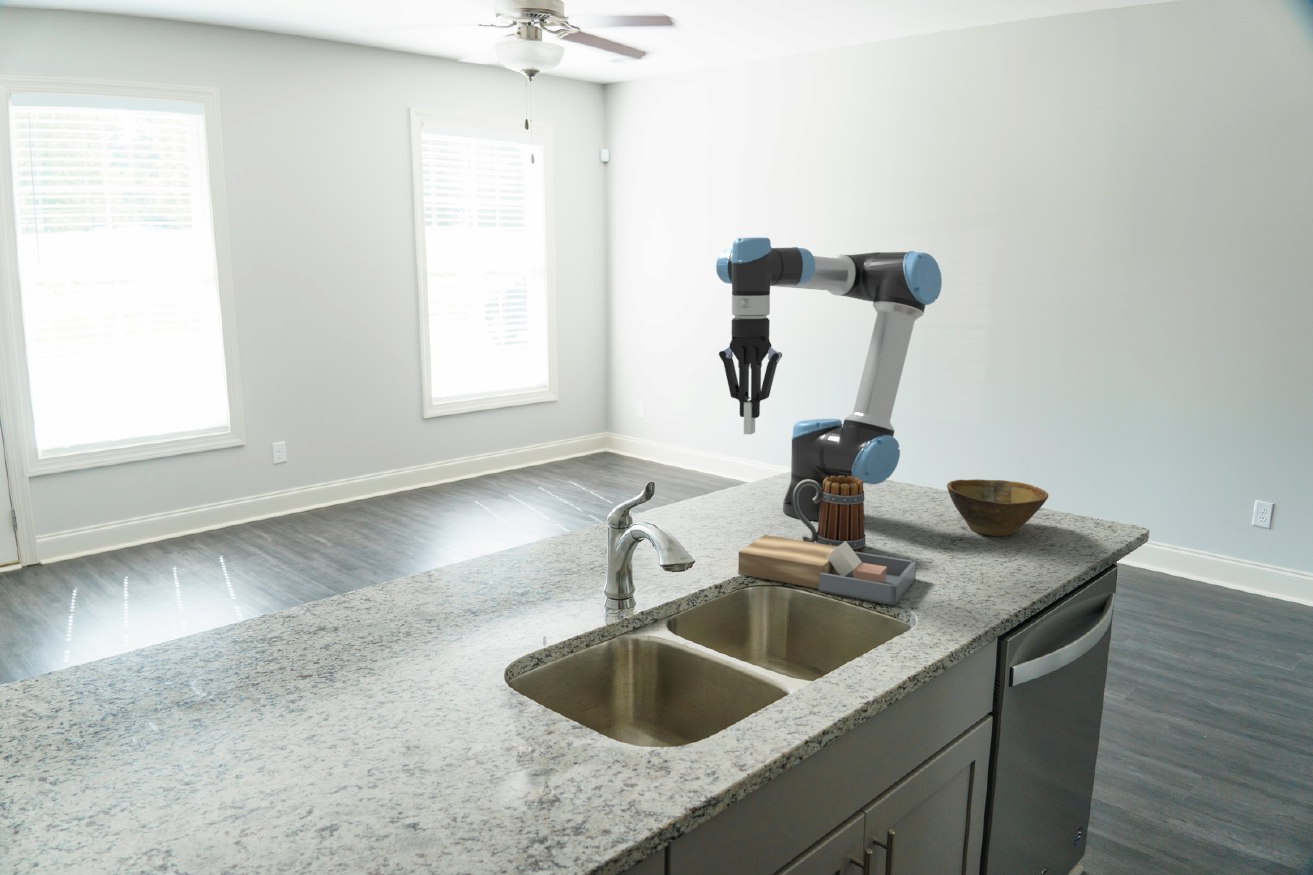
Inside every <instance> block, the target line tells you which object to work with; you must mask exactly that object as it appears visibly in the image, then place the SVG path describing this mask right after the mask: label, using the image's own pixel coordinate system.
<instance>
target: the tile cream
mask: <svg viewBox="0 0 1313 875" xmlns="http://www.w3.org/2000/svg"><path fill="white" fill-rule="evenodd" d="M826 557H827V558H828V560H829V561H830V562H831V564H832V565H833V566H834V568H835V569H836V570H837V572H838V573H839V574H840V576H845V575H847V574H848V573H850V572H851V571H853V570H854V569H855V568H856V567H857V566H858V565H859V564H860V563H861V560H860V559H859V558H858V556H857V555H856V554H855V552H854V551H853V550H852V548H851V547H850V546H849V545H848V543H847V542H846V541H845V542H843V543H842V544H841V545H839V546H838V547H836V548H835V549H834V550H832V551H831V552H830V553H829V554H828V555H827V556H826Z"/></svg>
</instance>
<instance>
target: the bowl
mask: <svg viewBox="0 0 1313 875" xmlns="http://www.w3.org/2000/svg"><path fill="white" fill-rule="evenodd" d="M946 488H947V491H948V494H949V496H950V498H951V501H952V502H953V505H954V507H955V509H956V510H957V511H958V513H959V514H960V515H961V517H962V518H963V519H964V521H965V522H966V524H967V525H968V528H969V529H970V530H971V531H973V532H974V533H978V534H982V535H986V536H992V537H993V536H994V537H1006V536H1010V535H1011V536H1012V535H1013V534H1014V533H1015V532H1016V531H1018V529H1021V528H1022V527H1023V526H1024V525H1025V524H1026V523H1027V522H1028V521H1029V520H1030V519H1032V518H1033V516H1034V515H1036V513H1037V512H1038V511H1039V510H1040V509H1041V508H1042V506H1043V505H1044V504H1045V503H1046V501H1047V500H1048V498H1049V493H1048V492H1047V491H1046V490H1044V489H1042V488H1040V487H1038V486H1035V485H1032V484H1029V483H1025V482H1019V481H1010V480H1002V479H955V480H950V481H949V482H948V483H947V485H946Z"/></svg>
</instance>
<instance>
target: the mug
mask: <svg viewBox="0 0 1313 875" xmlns="http://www.w3.org/2000/svg"><path fill="white" fill-rule="evenodd" d="M807 485H810V486H813V487H815V488H816V489H817V494H816V496H815V497H814V498H813V501H814V502H815V503H818V502H819V501H820V499H821V505H820V514H819V520H818V521H817V522H818V524H817V529H816V527H815V526H814V524H813V523H812V522H811V520H808V519H807V518H806V517H805V516H804V515H803V514H802V512H801V510H800V508H799V503H798V495H799V492H800V490H801V489H802V488H803V487H804V486H807ZM793 501H794V507H795V511H796V513H797V515H798V517H799V518H798V519H799V521H801V522H802V524H804V525H805V526H806V527H807V528H808V529H809V531H810V532H811V536H809V537H808V534H802V541H807V542H813V543H819V544H826V545H832V546H839V545H841V544H842V543H843V542H845V541H846V542H847V543H848V545H849V546H850V547H851V548H852V550H853V551H854V552H861V553H862V552H863V551H864V550H865V548H866V534H865V507H864V506H865V491H864V483H863V482H862V480H860V479H859V478H853V477H850V476H847V478H845V476H838V477H836V476H831V477H826V478H825V479H824V481H823V487H822V490H821V487H820V485H819V484H818V483H817V482H816V481H814V480H811V479H806V480H802V481H801V482H799V483H798V484H797V486H796V487H795V490H794V493H793Z"/></svg>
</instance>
